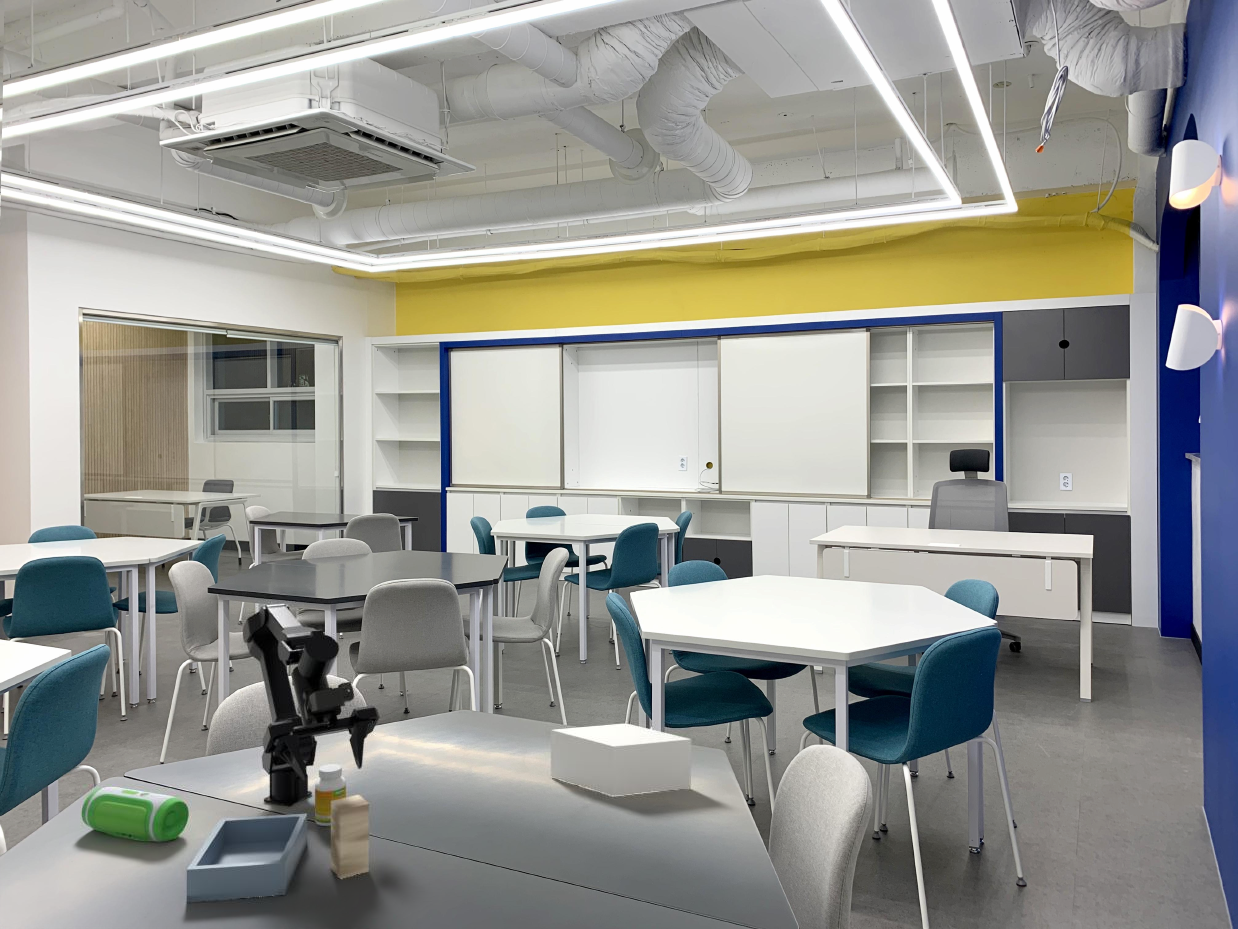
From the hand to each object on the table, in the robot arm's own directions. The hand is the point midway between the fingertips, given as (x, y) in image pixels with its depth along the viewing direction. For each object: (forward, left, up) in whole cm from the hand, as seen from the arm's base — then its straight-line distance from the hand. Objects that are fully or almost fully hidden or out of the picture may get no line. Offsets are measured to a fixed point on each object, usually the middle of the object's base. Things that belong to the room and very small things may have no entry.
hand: (333, 773), depth 147 cm
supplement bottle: (-8, +10, -13) cm, 19 cm away
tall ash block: (+7, -4, -13) cm, 15 cm away
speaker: (-36, -7, -14) cm, 40 cm away
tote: (-8, -10, -13) cm, 19 cm away
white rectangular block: (+35, +46, -14) cm, 59 cm away
